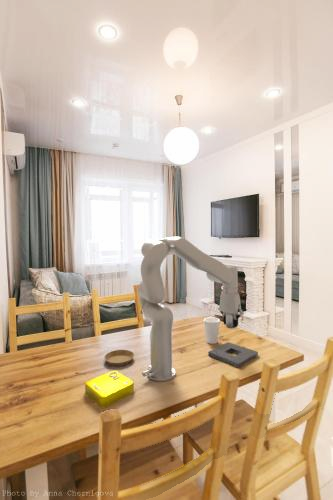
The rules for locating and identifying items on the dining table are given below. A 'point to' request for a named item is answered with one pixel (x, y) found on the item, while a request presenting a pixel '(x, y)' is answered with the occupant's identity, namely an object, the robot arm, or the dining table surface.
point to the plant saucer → (119, 357)
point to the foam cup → (211, 329)
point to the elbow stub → (229, 320)
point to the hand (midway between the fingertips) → (230, 324)
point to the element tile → (109, 388)
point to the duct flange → (237, 360)
